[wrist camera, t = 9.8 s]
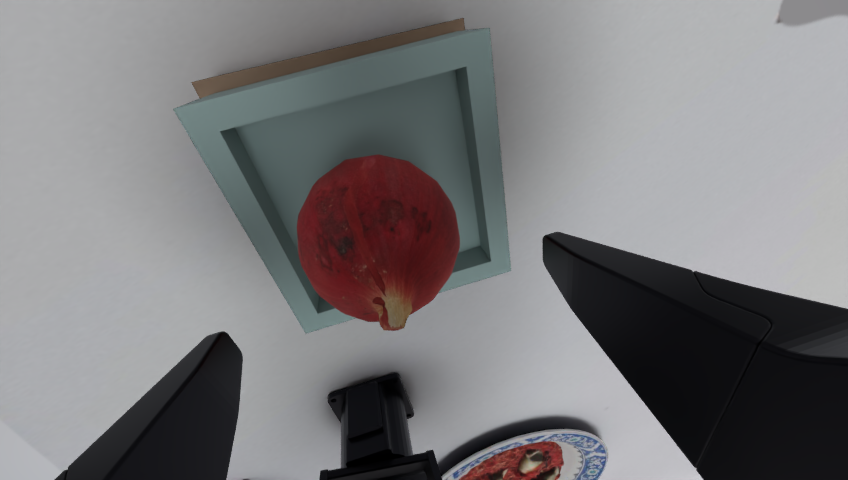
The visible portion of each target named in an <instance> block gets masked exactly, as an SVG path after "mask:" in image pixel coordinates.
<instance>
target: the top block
mask: <svg viewBox="0 0 848 480" xmlns="http://www.w3.org/2000/svg"><path fill="white" fill-rule="evenodd" d="M173 110H174V111H175V113H176V115H177V117H178V118H179V120H180V122H181V123H182V125H183V127H184V128H185V130H186V132H187V133H188V135H189V137H190V139H191V140H192V142H193V144H194V145H195V147H196V149H197V150H198V152H199V154H200V155H201V157H202V159H203V161H204V162H205V164H206V166H207V167H208V169H209V171H210V172H211V174H212V176H213V177H214V179H215V181H216V183H217V184H218V186H219V188H220V189H221V191H222V193H223V194H224V196H225V198H226V199H227V201H228V203H229V205H230V206H231V208H232V210H233V211H234V213H235V215H236V216H237V218H238V220H239V221H240V223H241V225H242V227H243V228H244V230H245V232H246V233H247V235H248V237H249V238H250V240H251V242H252V243H253V245H254V247H255V249H256V250H257V252H258V254H259V255H260V257H261V259H262V260H263V262H264V264H265V265H266V267H267V269H268V271H269V272H270V274H271V276H272V277H273V279H274V281H275V282H276V284H277V286H278V288H279V289H280V291H281V293H282V294H283V296H284V298H285V299H286V301H287V303H288V304H289V306H290V308H291V310H292V311H293V313H294V315H295V316H296V318H297V320H298V321H299V323H300V325H301V326H302V328H303V330H304V332H305V333H309V332H313V331H316V330H319V329H322V328H326V327H329V326H332V325H336V324H339V323H342V322H345V321H349V320H352V319H355V317H352V316H349V315H346V314H344V313H342V312H340V311H339V310H337V309H336V308H335V307H333V306H332V305H331V304H329V303H328V302H327V301H325V300H324V299H323V298H321V297H320V296H319V295H318V293H317V292H316V291H315V290H314V288H313V286H312V284H311V283H310V281H309V279H308V277H307V275H306V273H305V271H304V270H303V268H302V266H301V262H300V259H299V255H298V240H297V220H298V214H299V212H300V210H301V208H302V206H303V204H304V202H305V200H306V198H307V196H308V194H309V192H310V190H311V188H312V186H313V185H314V184H315V182H316V181H317V180H318V179H319V178H320V177H322V176H323V175H325V174H326V173H327V172H329V171H330V170H331V169H333V168H334V167H336V166H337V165H338V164H340V163H341V162H343V161H344V160H346V159H352V158H358V157H365V156H371V155H377V154H380V155H384V156H388V157H393V158H397V159H401V160H406V161H409V162H411V163H412V164H413V165H415V166H416V167H418V168H419V169H421V170H422V171H423V172H425V173H426V174H428V175H429V176H430V177H432V178H433V179H435V180H436V181H437V182H438V183H439V185H440V186H441V188H442V189H443V191H444V192H445V194H446V195H447V197H448V198H449V199H450V201H451V202H452V205H453V207H454V210H455V212H456V218H457V223H458V229H459V235H460V248H459V251H458V255H457V258H456V261H455V264H454V268H453V271H452V274H451V275H450V277H449V279H448V280H447V282H446V283H445V284H444V286H443V287H442V288H441V290H440V291H439V292H438V293H440V292H444V291H447V290H450V289H453V288H457V287H460V286H463V285H466V284H470V283H473V282H476V281H480V280H483V279H486V278H489V277H493V276H496V275H499V274H502V273H506V272H509V271H511V264H510V253H509V242H508V230H507V219H506V208H505V196H504V185H503V174H502V162H501V151H500V140H499V128H498V117H497V106H496V94H495V83H494V72H493V60H492V49H491V38H490V28H483V29H473V30H464V31H456V32H452V33H448V34H444V35H440V36H436V37H432V38H429V39H425V40H421V41H417V42H413V43H409V44H405V45H401V46H397V47H393V48H389V49H386V50H382V51H378V52H374V53H370V54H366V55H362V56H358V57H354V58H350V59H346V60H343V61H339V62H335V63H331V64H327V65H323V66H319V67H315V68H311V69H307V70H303V71H300V72H296V73H292V74H288V75H284V76H280V77H276V78H272V79H268V80H264V81H260V82H257V83H253V84H249V85H245V86H241V87H237V88H233V89H229V90H225V91H221V92H217V93H214V94H211V95H208V96H206V97H203V98H201V99H198V100H195V101H193V102H190V103H188V104H185V105H182V106H180V107H177V108H175V109H173Z"/></svg>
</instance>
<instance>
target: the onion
mask: <svg viewBox="0 0 848 480" xmlns="http://www.w3.org/2000/svg"><path fill="white" fill-rule="evenodd" d="M297 240H298V255H299V259H300V262H301V266H302V268H303V270H304V271H305V273H306V275H307V277H308V279H309V281H310V283H311V284H312V286H313V288H314V290H315V291H316V292H317V293H318V295H319V296H320V297H321V298H323V299H324V300H325V301H327V302H328V303H329V304H331V305H332V306H333V307H335V308H336V309H337V310H339V311H340V312H342V313H344V314H346V315H349V316H352V317H355V318H358V319H361V320H365V321H368V322H377V321H379V322H380V325H381V327H382V328H383V330H391V331H394V330H400V329H402V328H404V326H405V323H406V320H407V318H408V316H409V315H410V314H412V313H414V312H415V311H417V310H419V309H420V308H422V307H423V306H425V305H426V304H428V303H429V302H431V301H432V300H433V299H434V298H435V296H436V295H437V294H438V292H439V291H440V290H441V288H442V287H443V286H444V284H445V283H446V282H447V280H448V279H449V277H450V275H451V274H452V271H453V268H454V264H455V261H456V258H457V255H458V251H459V248H460V235H459V229H458V223H457V218H456V212H455V210H454V207H453V205H452V202H451V201H450V199H449V198H448V197H447V195H446V194H445V192H444V191H443V189H442V188H441V186H440V185H439V183H438V182H437V181H436V180H435V179H433V178H432V177H430V176H429V175H428V174H426V173H425V172H423V171H422V170H421V169H419V168H418V167H416V166H415V165H413V164H412V163H411V162H409V161H406V160H401V159H397V158H393V157H388V156H384V155H380V154H377V155H371V156H365V157H358V158H352V159H346V160H344V161H343V162H341V163H340V164H338V165H337V166H336V167H334V168H333V169H331V170H330V171H329V172H327V173H326V174H325V175H323V176H322V177H320V178H319V179H318V180H317V181H316V182H315V184H314V185H313V186H312V188H311V190H310V192H309V194H308V196H307V198H306V200H305V202H304V204H303V206H302V208H301V210H300V212H299V214H298V220H297Z"/></svg>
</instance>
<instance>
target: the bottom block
mask: <svg viewBox="0 0 848 480" xmlns="http://www.w3.org/2000/svg"><path fill="white" fill-rule="evenodd" d="M464 30H465V27H464V18H462V19H457V20H453V21H448V22H444V23H440V24H436V25H431V26H427V27H423V28H419V29H414V30H410V31H406V32H402V33H398V34H393V35H389V36H385V37H381V38H376V39H372V40H368V41H364V42H359V43H355V44H351V45H347V46H343V47H338V48H334V49H330V50H326V51H321V52H317V53H313V54H309V55H304V56H300V57H296V58H292V59H288V60H283V61H279V62H275V63H271V64H266V65H262V66H258V67H254V68H249V69H245V70H241V71H237V72H232V73H228V74H224V75H220V76H216V77H211V78H207V79H203V80H199V81H195V82H191V83H192V85H193V86H194V88H195V90H196V92H197V94H198V96H199V98H200V99H201V98H203V97H206V96H208V95H211V94H214V93H217V92H221V91H225V90H229V89H233V88H237V87H241V86H245V85H249V84H253V83H257V82H260V81H264V80H268V79H272V78H276V77H280V76H284V75H288V74H292V73H296V72H300V71H303V70H307V69H311V68H315V67H319V66H323V65H327V64H331V63H335V62H339V61H343V60H346V59H350V58H354V57H358V56H362V55H366V54H370V53H374V52H378V51H382V50H386V49H389V48H393V47H397V46H401V45H405V44H409V43H413V42H417V41H421V40H425V39H429V38H432V37H436V36H440V35H444V34H448V33H452V32H456V31H464Z"/></svg>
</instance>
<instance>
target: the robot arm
mask: <svg viewBox="0 0 848 480" xmlns="http://www.w3.org/2000/svg"><path fill="white" fill-rule="evenodd" d="M543 262H544V265H545V267H546V269H547V270H548V272H549V274H550V275H551V277H552V279H553V280H554V282H555V284H556V285H557V287H558V289H559V290H560V292H561V293H562V295H563V297H564V298H565V300H566V302H567V303H568V305H569V306H570V308H571V309H572V311H573V312H574V313H575V315H576V316H577V317H578V319H579V320H580V321H581V322H582V324H583V325H584V326H585V328H586V329H587V330H588V331H589V333H590V334H591V335H592V337H593V338H594V339H595V340H596V342H597V343H598V344H599V345H600V347H601V348H602V349H603V351H604V352H605V353H606V354H607V356H608V357H609V358H610V360H611V361H612V362H613V363H614V365H615V366H616V367H617V369H618V370H619V371H620V372H621V374H622V375H623V376H624V378H625V379H626V380H627V381H628V383H629V384H630V385H631V387H632V388H633V389H634V390H635V392H636V393H637V394H638V396H639V397H640V398H641V399H642V401H643V402H644V403H645V405H646V406H647V407H648V408H649V410H650V411H651V412H652V414H653V415H654V416H655V417H656V419H657V420H658V421H659V422H660V424H661V425H662V426H663V428H664V429H665V430H666V431H667V433H668V434H669V435H670V437H671V438H672V439H673V440H674V442H675V443H676V444H677V446H678V447H679V448H680V449H681V451H682V452H683V453H684V455H685V456H686V457H687V458H688V460H689V461H690V462H691V464H692V465H693V466H694V467H695V468H697V469H696V470H697V472H698V473H699V474H700V475H701V477H702V478H703V479H704V480H848V309H846V308H842V307H837V306H833V305H829V304H824V303H820V302H816V301H811V300H807V299H803V298H798V297H794V296H790V295H785V294H781V293H777V292H773V291H768V290H764V289H760V288H756V287H752V286H748V285H744V284H740V283H736V282H732V281H729V280H725V279H721V278H718V277H714V276H711V275H707V274H704V273H700V272H697V271H694V272H693V271H692V270H690V269H686V268H683V267H679V266H676V265H672V264H669V263H665V262H662V261H658V260H655V259H651V258H648V257H644V256H641V255H637V254H634V253H630V252H627V251H623V250H620V249H616V248H613V247H609V246H606V245H603V244H599V243H596V242H592V241H589V240H585V239H582V238H578V237H575V236H571V235H568V234H564V233H561V232H554V233H551V234H548V235H545V236H544V237H543ZM242 362H243V357H242V353H241V351H240V349H239V348H238V346H237V345H236V344H235V343H234V341H233V340H232V339H231V337H230V336H229V335H228V334H227V333H226V332H218V333H215V334H211V335H208V336H207V337H205V338H204V339H203V340H202V341H201V342H200V343H199V344H198V345H197V346H196V347H195V348H194V349H193V350H192V351H190V352H189V353H188V354H187V355H186V356H185V357H184V358H183V359H182V360H181V361H180V362H179V363H178V364H177V365H176V366H175V367H174V368H172V369H171V370H170V371H169V372H168V373H167V374H166V375H165V376H164V377H163V378H162V379H161V380H160V381H159V382H158V383H157V384H156V385H154V386H153V387H152V388H151V389H150V390H149V391H148V392H147V393H146V394H145V395H144V396H143V397H142V398H141V399H140V400H139V401H138V402H136V403H135V404H134V405H133V406H132V407H131V408H130V409H129V410H128V411H127V412H126V413H125V414H124V415H123V416H122V417H121V418H120V419H118V420H117V421H116V422H115V423H114V424H113V425H112V426H111V427H110V428H109V429H108V430H107V431H106V432H105V433H104V434H103V435H102V436H100V437H99V438H98V439H97V440H96V441H95V442H94V443H93V444H92V445H91V446H90V447H89V448H88V449H87V450H86V451H85V452H84V453H82V454H81V455H80V456H79V457H78V458H77V459H76V460H75V461H74V462H73V463H72V464H71V465H70V466H69V467H68V470H65V471H63V472H62V473H61V474H60V475H59V476H58V477H57V478H56V479H55V480H226V478H227V473H228V467H229V462H230V457H231V451H232V446H233V441H234V435H235V430H236V425H237V419H238V412H239V402H240V389H241V376H242ZM328 403H329V405H330V406H331V408H332V410H333V411H334V413H335V414H336V416H337V418H338V419H339V421H340V422H341V468H340V469H335V470H329V471H328V469H327V470H322V471H320V480H442V477H441V474H440V471H439V468H438V464H437V461H436V458H435V455H434V451H433V450H429V451H426V452H425V453H420V454H415V455H413V452H412V446H411V440H410V434H409V429H408V423H407V419H409V418H411V417H413V415H414V412H413V409H412V406H411V403H410V401H409V398H408V396H407V393H406V391H405V388H404V386H403V383H402V380H401V378H400V375H399V374H396V373H395V374H391V375H388V376H384V377H381V378H378V379H375V380H372V381H369V382H366V383H362V384H359V385H356V386H353V387H350V388H347V389H343V390H340V391H337V392H334V393H331V394H329V395H328Z"/></svg>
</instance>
